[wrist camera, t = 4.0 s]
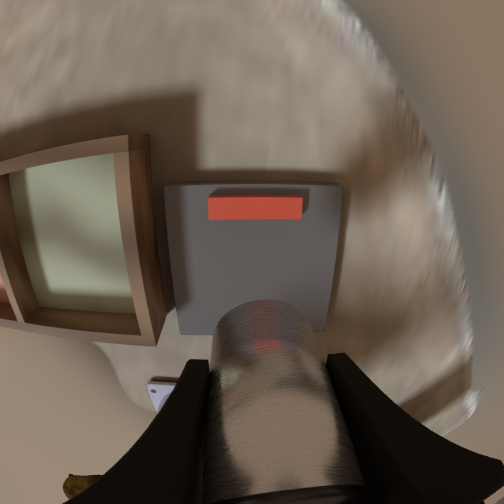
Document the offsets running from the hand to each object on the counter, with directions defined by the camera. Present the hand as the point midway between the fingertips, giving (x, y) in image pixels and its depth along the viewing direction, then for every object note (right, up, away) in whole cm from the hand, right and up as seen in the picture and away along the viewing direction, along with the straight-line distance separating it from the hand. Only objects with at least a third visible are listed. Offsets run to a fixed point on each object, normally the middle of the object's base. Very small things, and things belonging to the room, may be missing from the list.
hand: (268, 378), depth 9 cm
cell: (0, +1, +2) cm, 2 cm away
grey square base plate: (-1, +4, +9) cm, 10 cm away
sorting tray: (-17, +5, +7) cm, 20 cm away
